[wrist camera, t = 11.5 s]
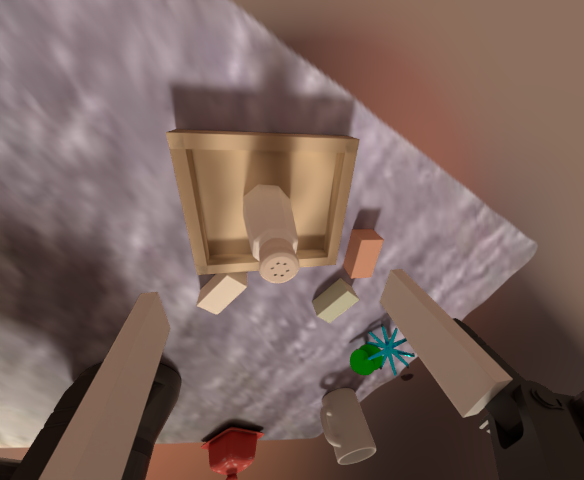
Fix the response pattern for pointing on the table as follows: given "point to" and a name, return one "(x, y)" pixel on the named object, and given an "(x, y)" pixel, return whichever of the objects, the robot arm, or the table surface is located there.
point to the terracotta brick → (362, 253)
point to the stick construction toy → (377, 354)
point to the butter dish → (232, 451)
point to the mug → (346, 426)
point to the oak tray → (267, 171)
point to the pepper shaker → (271, 232)
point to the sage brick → (334, 300)
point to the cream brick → (221, 291)
